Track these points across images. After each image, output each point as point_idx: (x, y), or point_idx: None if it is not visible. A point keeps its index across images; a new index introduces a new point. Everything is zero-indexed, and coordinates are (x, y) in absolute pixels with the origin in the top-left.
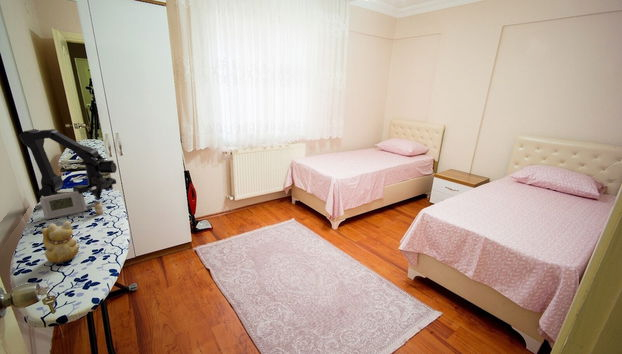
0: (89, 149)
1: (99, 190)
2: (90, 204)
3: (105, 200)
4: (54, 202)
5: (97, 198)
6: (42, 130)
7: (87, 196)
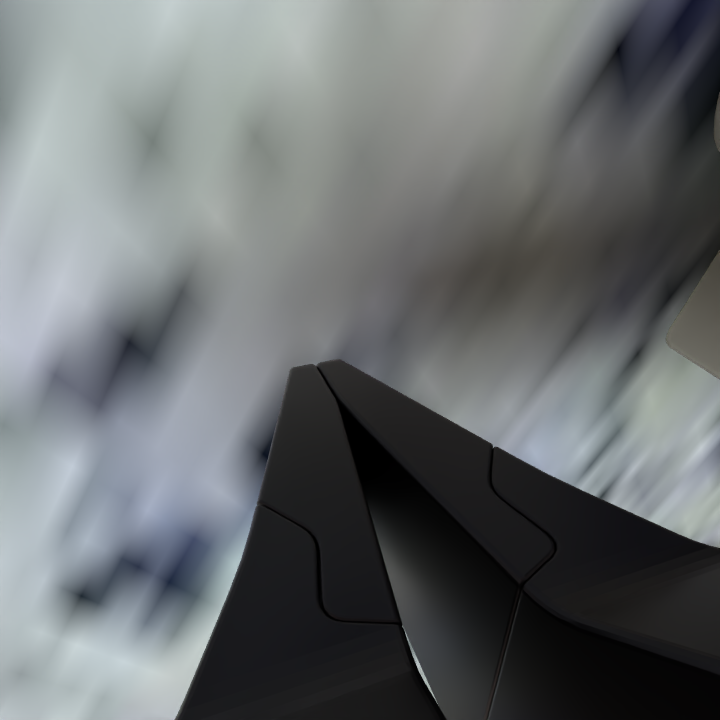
0: None
1: (424, 692)
2: (429, 375)
3: (87, 392)
4: None
5: (374, 382)
6: None
7: None
